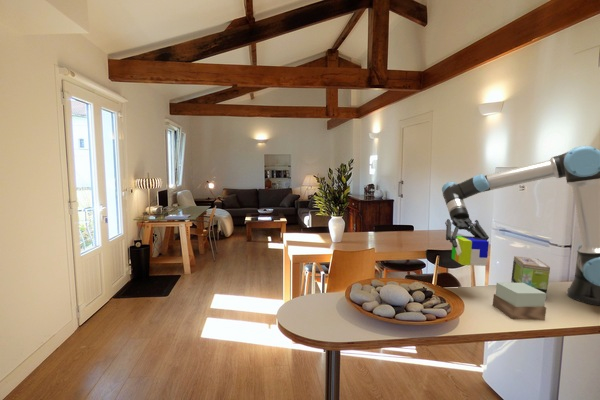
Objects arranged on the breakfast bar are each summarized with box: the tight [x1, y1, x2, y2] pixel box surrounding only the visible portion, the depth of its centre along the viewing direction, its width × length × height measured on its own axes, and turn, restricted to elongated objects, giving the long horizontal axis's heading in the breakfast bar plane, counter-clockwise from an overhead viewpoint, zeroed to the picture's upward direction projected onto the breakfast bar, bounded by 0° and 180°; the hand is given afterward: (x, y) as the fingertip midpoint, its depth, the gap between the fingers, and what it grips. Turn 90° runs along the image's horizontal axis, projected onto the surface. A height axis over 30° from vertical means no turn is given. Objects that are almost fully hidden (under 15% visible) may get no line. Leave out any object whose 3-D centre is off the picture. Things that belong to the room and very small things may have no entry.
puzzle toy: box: [451, 235, 490, 267], centre depth 143 cm, size 10×10×10 cm
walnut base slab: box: [492, 293, 547, 321], centre depth 128 cm, size 12×12×5 cm
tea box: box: [510, 255, 551, 301], centre depth 149 cm, size 15×10×15 cm
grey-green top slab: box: [494, 282, 547, 307], centre depth 127 cm, size 11×11×5 cm
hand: (472, 254), depth 140 cm, fingers closed on puzzle toy, 10 cm apart
